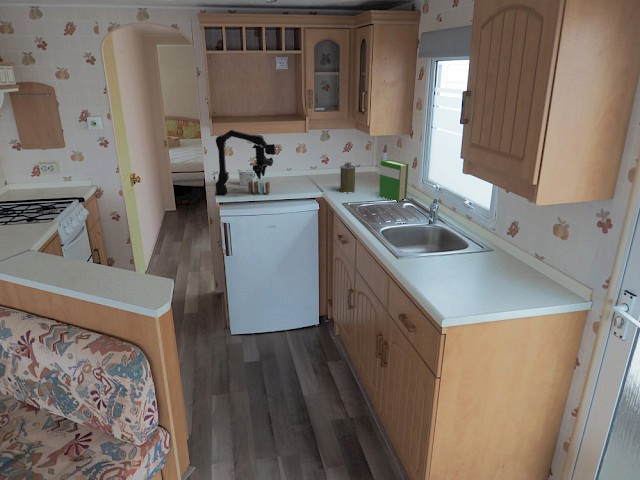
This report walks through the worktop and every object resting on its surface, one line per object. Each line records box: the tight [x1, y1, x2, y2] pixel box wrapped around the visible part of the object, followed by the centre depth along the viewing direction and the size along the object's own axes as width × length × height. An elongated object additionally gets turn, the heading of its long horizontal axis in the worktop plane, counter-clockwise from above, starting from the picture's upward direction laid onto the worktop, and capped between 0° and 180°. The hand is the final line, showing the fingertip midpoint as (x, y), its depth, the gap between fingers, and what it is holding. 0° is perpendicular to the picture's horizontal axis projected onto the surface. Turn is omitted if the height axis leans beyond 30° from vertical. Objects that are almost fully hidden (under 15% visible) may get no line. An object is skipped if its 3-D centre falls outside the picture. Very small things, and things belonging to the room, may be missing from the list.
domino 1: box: [247, 181, 254, 195], centre depth 317 cm, size 2×5×8 cm, turn 171°
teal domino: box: [258, 181, 265, 196], centre depth 315 cm, size 2×5×8 cm, turn 172°
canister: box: [339, 161, 356, 193], centre depth 317 cm, size 11×10×20 cm
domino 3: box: [264, 181, 271, 196], centre depth 315 cm, size 2×5×8 cm, turn 171°
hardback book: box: [378, 159, 409, 202], centre depth 300 cm, size 18×7×24 cm, turn 36°
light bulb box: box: [238, 169, 256, 187], centre depth 339 cm, size 11×7×11 cm, turn 84°
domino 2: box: [253, 181, 260, 195], centre depth 316 cm, size 2×5×8 cm, turn 171°
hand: (261, 177), depth 313 cm, fingers open, 9 cm apart
